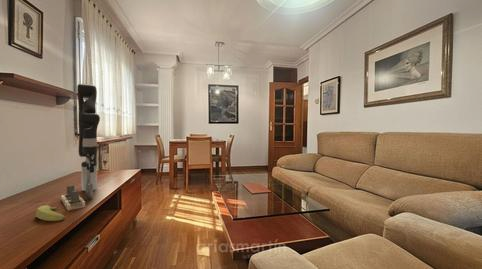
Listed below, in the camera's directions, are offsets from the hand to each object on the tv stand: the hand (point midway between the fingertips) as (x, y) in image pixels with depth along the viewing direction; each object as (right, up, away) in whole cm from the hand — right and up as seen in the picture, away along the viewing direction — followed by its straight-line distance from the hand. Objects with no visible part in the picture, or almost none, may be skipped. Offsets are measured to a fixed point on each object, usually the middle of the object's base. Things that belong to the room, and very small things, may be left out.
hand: (90, 171), depth 137 cm
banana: (-4, -20, -23) cm, 30 cm away
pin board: (-6, -18, -6) cm, 20 cm away
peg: (-1, -18, +1) cm, 18 cm away
